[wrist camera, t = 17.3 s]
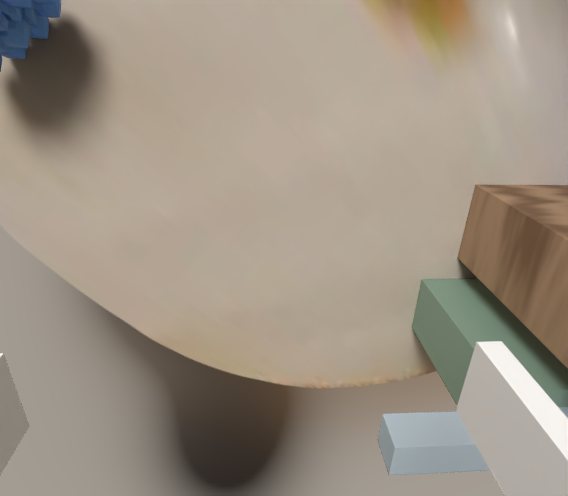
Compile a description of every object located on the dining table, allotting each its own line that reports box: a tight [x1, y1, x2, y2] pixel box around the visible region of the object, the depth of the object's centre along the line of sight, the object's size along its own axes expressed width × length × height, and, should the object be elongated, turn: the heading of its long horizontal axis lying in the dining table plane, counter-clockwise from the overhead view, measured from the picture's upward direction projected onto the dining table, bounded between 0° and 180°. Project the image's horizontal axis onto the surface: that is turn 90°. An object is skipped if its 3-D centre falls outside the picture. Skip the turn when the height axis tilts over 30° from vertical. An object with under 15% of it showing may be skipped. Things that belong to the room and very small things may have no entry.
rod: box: [378, 407, 568, 475], centre depth 37 cm, size 30×4×4 cm, turn 88°
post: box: [412, 279, 568, 407], centre depth 47 cm, size 8×8×20 cm
